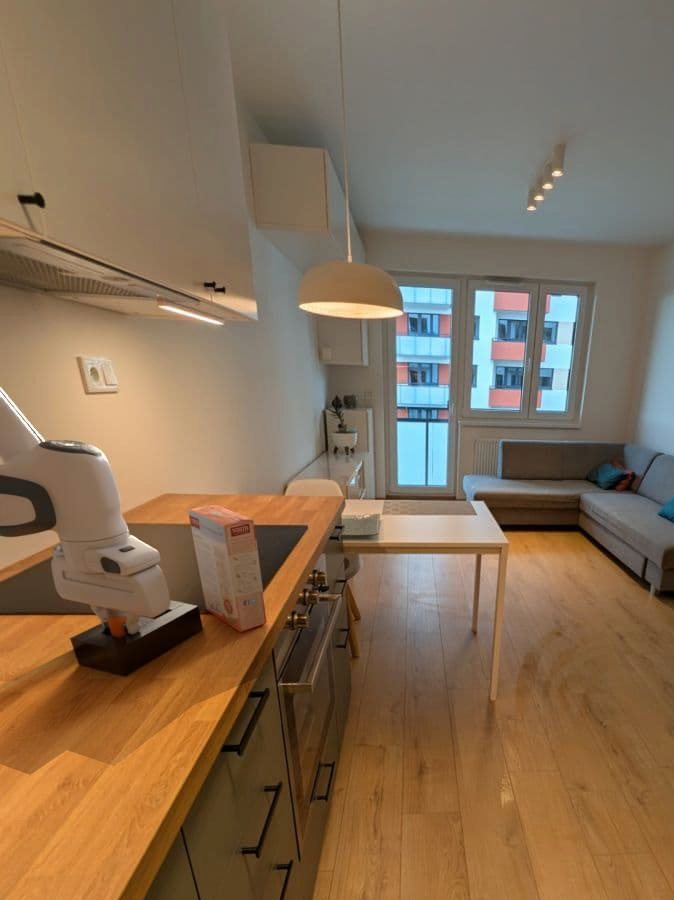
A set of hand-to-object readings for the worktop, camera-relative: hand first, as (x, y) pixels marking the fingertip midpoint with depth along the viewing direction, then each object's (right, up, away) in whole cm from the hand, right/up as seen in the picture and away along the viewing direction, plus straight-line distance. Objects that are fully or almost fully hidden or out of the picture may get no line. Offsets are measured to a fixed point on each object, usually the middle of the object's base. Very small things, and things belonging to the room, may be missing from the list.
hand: (121, 629), depth 84 cm
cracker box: (+12, +1, +16) cm, 20 cm away
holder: (+1, -3, +5) cm, 6 cm away
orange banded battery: (0, -4, +2) cm, 5 cm away
